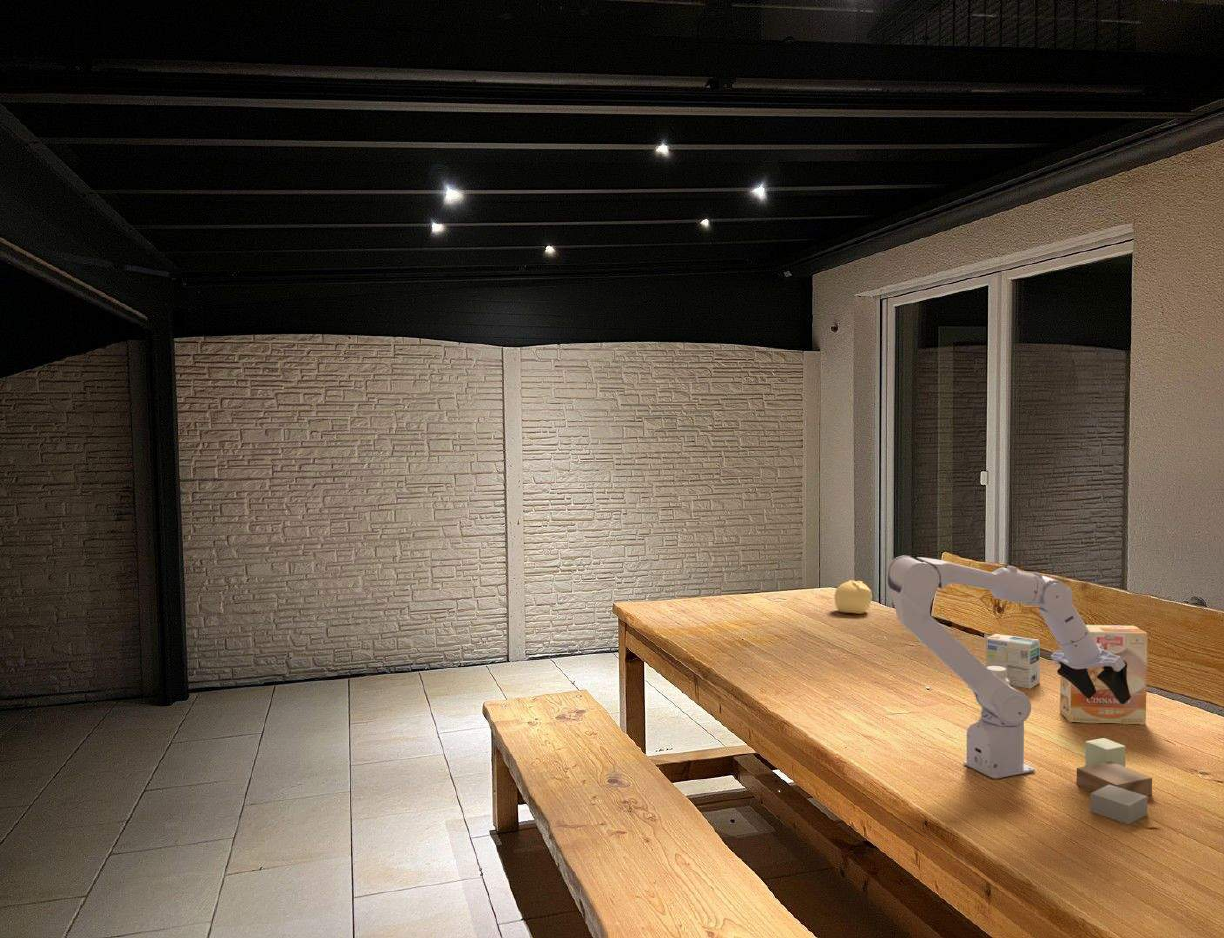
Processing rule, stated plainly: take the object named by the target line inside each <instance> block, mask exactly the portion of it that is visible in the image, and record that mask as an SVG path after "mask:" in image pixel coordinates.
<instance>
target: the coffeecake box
mask: <svg viewBox="0 0 1224 938" xmlns="http://www.w3.org/2000/svg"><path fill="white" fill-rule="evenodd" d="M1085 625H1086V627H1087V628H1088V630H1089V632H1090V634H1091V636H1092V637H1093V639H1094V641H1095V642H1096V643H1098V644H1102V646H1103V648H1102V649H1103V650H1105V651H1107V652H1109V653H1111V654H1113V655H1116V656H1121V658H1122V660H1124V661H1126V663H1127V684H1128V689H1129V692H1130V696H1131V698H1130V699H1129V700H1128V701H1127V702H1126V703H1125V704H1121V703H1120V702H1119V701H1118V700H1117V699H1116V697H1115V696H1114V694H1113V693H1112V691H1111V690H1110V689H1109V688H1108V687H1107V686H1106V685H1105V684H1104V683H1103V682H1102V681H1101V680H1099V679H1098V678H1097V675H1099V674H1100V673H1101V672H1102V671H1103V670H1104V669H1103V667H1093V668H1087V671H1088V674H1089V676H1090V678H1091V680H1092V682H1093V684H1094V686H1095V689H1096V693H1095V694H1094V695H1093V696H1092V697H1091V698H1090V699H1088V698H1086V697H1085V696H1084V695H1083V694H1082V693H1081V692H1080V691H1079V690H1078V689H1077V688H1076V687H1075V686H1074V685H1073V684H1072V683H1071V682H1070V681H1068V680H1067V679H1065V678H1064V677H1062V676H1061V675H1059V679H1060V680H1059V683H1060V684H1059V685H1060V686H1059V713H1060V714H1061V715H1062V716H1063V715H1064V716H1063V717H1066V718H1067V719H1066V718H1065V719H1066V720H1067V721H1068V722H1069V723H1070V722H1083V723H1082V724H1098V723H1120V724H1119V725H1132V724H1140V725H1139V726H1141V725H1142V726H1146V722H1147V719H1146V718H1147V685H1148V684H1147V681H1148V680H1147V677H1148V675H1147V674H1148V671H1147V670H1148V668H1147V667H1148V632H1146V631H1145V630H1144V629H1140V628H1139V627H1137V626H1135V625H1121V624H1120V625H1117V624H1116V625H1114V624H1113V625H1112V624H1107V625H1106V624H1085ZM1085 722H1086V723H1085ZM1121 723H1123V724H1121Z"/></svg>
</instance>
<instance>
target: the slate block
mask: <svg viewBox="0 0 1224 938" xmlns="http://www.w3.org/2000/svg"><path fill="white" fill-rule="evenodd" d="M1089 800H1090V802H1089V804H1090V806H1089V807H1090V813H1093V814H1096V815H1099V816H1102V817H1105V818H1109V819H1111V820H1113V821H1114V820H1115V821H1117V822H1120V823H1124V824H1126V825H1129V826H1130V825H1131V824H1133V823H1135V822H1136V821H1138V820H1140V819H1141V818H1144V817H1145V816H1148V796H1145V795H1142V794H1138V793H1135V792H1132V791H1129V790H1126V789H1122V788H1119V787H1116V786H1113V785H1107V786H1105V787H1103V788H1101V789H1099V790H1097V791H1095V792H1091V793H1090V799H1089Z"/></svg>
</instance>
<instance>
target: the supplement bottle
mask: <svg viewBox="0 0 1224 938" xmlns="http://www.w3.org/2000/svg"><path fill="white" fill-rule="evenodd" d="M987 669H989V670H990V671H991V672H992V673H993V674H994V675H996V676H997V677H998V678H1000V679H1001V680H1003V681H1004V682H1005V683H1006V684H1008V685H1010V682H1009V680H1008V679H1007V678H1005V676H1006V668H1004V667H1000V666H988V667H987ZM1010 686H1011V685H1010Z"/></svg>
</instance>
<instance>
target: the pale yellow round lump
mask: <svg viewBox="0 0 1224 938" xmlns="http://www.w3.org/2000/svg"><path fill="white" fill-rule="evenodd" d="M872 600H873V592H872V590H871V589H870V588H869V586H868V585H867V584H865V583H864V582H863V581H862V580H857V581H856V580H854V579H853V580H852V579H849V580H848V581H846V582H842V583H841V584H840V585H839V586H838V587H837V588H836V590H835V592H834V604H835V607H836V609H837V610H838V611H839V612H840V613H846V614H847V613H848V614H850V613H851V614H857V615H858V614H859V615H862V614H865V613H866V612H867V611H868V610H869V609H870V608H871V603H872Z"/></svg>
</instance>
